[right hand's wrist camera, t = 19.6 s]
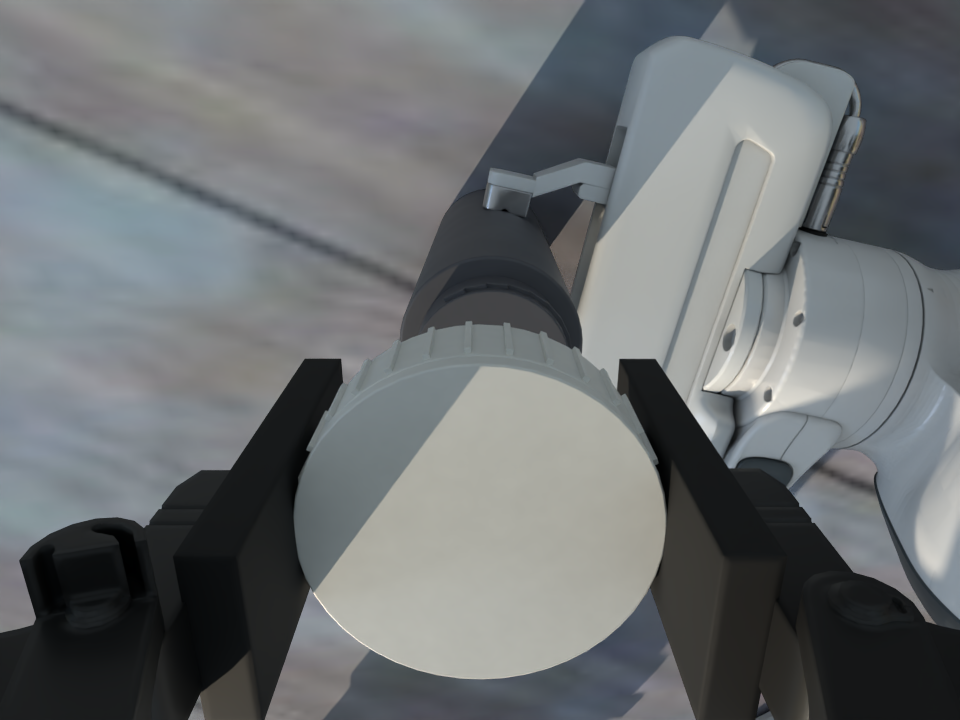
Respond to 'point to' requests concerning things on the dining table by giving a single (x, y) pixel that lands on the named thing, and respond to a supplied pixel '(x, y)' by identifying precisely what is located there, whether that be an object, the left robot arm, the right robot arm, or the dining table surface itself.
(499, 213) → the jar
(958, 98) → the dining table surface
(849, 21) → the dining table surface
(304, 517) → the lid
